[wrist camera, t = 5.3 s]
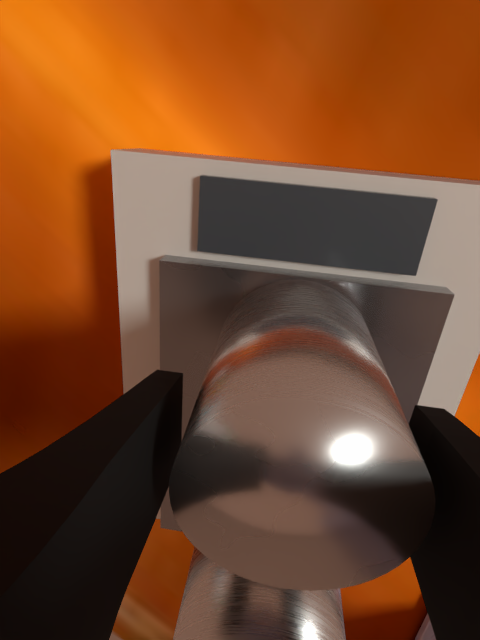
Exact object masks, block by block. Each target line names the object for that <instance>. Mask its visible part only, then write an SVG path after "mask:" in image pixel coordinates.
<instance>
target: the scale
mask: <svg viewBox="0 0 480 640" xmlns="http://www.w3.org/2000/svg"><path fill="white" fill-rule="evenodd" d="M111 165H112V184H113V203H114V222H115V241H116V260H117V279H118V298H119V317H120V336H121V355H122V373H123V392H124V394H125V393H126V392H127V391H129V390H130V389H131V388H133V387H134V386H135V385H137V384H138V383H139V382H141V381H142V380H143V379H145V378H146V377H147V376H149V375H150V374H152V373H153V372H154V371H156V370H160V291H159V260H160V259H161V258H163V257H164V256H165V255H172V256H180V257H189V258H198V259H206V260H215V261H224V262H233V263H241V264H250V265H259V266H267V267H276V268H285V269H293V270H302V271H311V272H320V273H328V274H337V275H346V276H354V277H363V278H372V279H380V280H389V281H398V282H407V283H415V284H424V285H433V286H441V287H447V288H448V289H449V290H450V291H451V292H452V293H453V294H455V295H454V298H453V301H452V304H451V307H450V310H449V313H448V316H447V319H446V322H445V325H444V328H443V331H442V334H441V337H440V340H439V342H438V345H437V348H436V351H435V354H434V357H433V360H432V363H431V366H430V369H429V372H428V375H427V378H426V381H425V384H424V387H423V390H422V393H421V396H420V399H419V402H418V404H417V405H420V406H427V407H435V408H442V409H445V410H447V411H448V412H449V413H451V414H452V415H453V416H455V413H456V411H457V408H458V405H459V403H460V400H461V398H462V395H463V393H464V390H465V388H466V385H467V383H468V380H469V378H470V375H471V373H472V370H473V367H474V365H475V362H476V360H477V357H478V355H479V352H480V181H476V180H465V179H455V178H444V177H434V176H423V175H413V174H402V173H392V172H381V171H371V170H360V169H350V168H339V167H329V166H318V165H308V164H297V163H287V162H276V161H266V160H255V159H245V158H234V157H224V156H213V155H203V154H192V153H182V152H172V151H161V150H151V149H140V148H139V149H115V150H111ZM156 518H157V519H161V507H160V509H159V512H158V514H157V517H156Z"/></svg>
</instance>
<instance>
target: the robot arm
mask: <svg viewBox="0 0 480 640" xmlns="http://www.w3.org/2000/svg"><path fill="white" fill-rule="evenodd" d="M182 399H183V373H179V372H171V371H164V370H156V371H154V372H153V373H152V374H150V375H149V376H147V377H146V378H145V379H143V380H142V381H141V382H139V383H138V384H137V385H135V386H134V387H133V388H131V389H130V390H129V391H127V392H126V393H125V394H123V395H122V396H121V397H119V398H118V399H117V400H115V401H114V402H113V403H111V404H110V405H108V406H107V407H106V408H104V409H103V410H101V411H100V412H99V413H97V414H96V415H94V416H93V417H92V418H90V419H89V420H87V421H86V422H84V423H83V424H81V425H80V426H78V427H77V428H75V429H74V430H72V431H71V432H69V433H68V434H66V435H65V436H63V437H61V438H60V439H58V440H57V441H55V442H54V443H52V444H51V445H49V446H48V447H46V448H44V449H43V450H41V451H39V452H38V453H36V454H34V455H33V456H31V457H29V458H28V459H26V460H24V461H22V462H21V463H19V464H17V465H15V466H13V467H12V468H10V469H8V470H6V471H4V472H2V473H1V474H0V640H109V638H110V635H111V632H112V629H113V626H114V623H115V620H116V616H117V613H118V610H119V608H120V605H121V602H122V600H123V597H124V594H125V592H126V589H127V586H128V584H129V582H130V579H131V577H132V574H133V572H134V569H135V567H136V565H137V562H138V560H139V557H140V555H141V553H142V550H143V548H144V545H145V543H146V541H147V538H148V536H149V533H150V531H151V529H152V526H153V524H154V521H155V519H156V517H157V514H158V512H159V509H160V507H161V504H162V502H163V500H164V497H165V495H166V492H167V490H168V487H169V479H170V475H171V471H172V467H173V464H174V461H175V459H176V456H177V453H178V450H179V447H180V445H181V440H182ZM409 427H410V429H411V431H412V434H413V436H414V439H415V441H416V443H417V446H418V448H419V450H420V453H421V455H422V458H423V460H424V462H425V465H426V467H427V469H428V472H429V474H430V477H431V480H432V483H433V486H434V493H435V513H434V517H433V521H432V524H431V527H430V529H429V531H428V533H427V536H426V538H425V539H424V540H423V542H422V543H421V545H420V546H419V547H418V549H417V550H416V551H415V552H414V553H413V554H412V555H411V556H410V557H411V560H412V564H413V567H414V570H415V573H416V577H417V580H418V583H419V586H420V589H421V593H422V596H423V599H424V602H425V606H426V609H427V612H428V613H427V615H426V617H425V619H424V622H423V624H422V626H421V628H420V630H419V632H418V634H417V636H416V638H415V640H480V437H479V436H477V435H476V434H475V433H474V432H473V431H471V430H470V429H469V428H468V427H467V426H466V425H464V424H463V423H462V422H461V421H459V420H458V419H457V418H456V417H454V416H453V415H452V414H451V413H449V412H448V411H447V410H445V409H442V408H435V407H427V406H420V405H415V407H414V410H413V413H412V416H411V419H410V422H409Z"/></svg>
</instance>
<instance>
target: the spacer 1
mask: <svg viewBox="0 0 480 640" xmlns="http://www.w3.org/2000/svg"><path fill="white" fill-rule="evenodd" d="M169 497H170V504H171V507H172V511H173V514H174V517H175V519H176V521H177V523H178V525H179V527H180V528H181V530H182V531H183V533H184V534H185V536H186V537H187V538H188V539H189V541H190V542H191V543H192V544H193V545H194V546H195V547H196V548H197V549H198V550H199V551H200V552H201V553H202V554H204V555H205V556H206V557H207V558H209V559H210V560H211V561H213V562H214V563H216V564H217V565H219V566H221V567H222V568H224V569H226V570H228V571H230V572H232V573H234V574H236V575H238V576H240V577H243V578H245V579H248V580H251V581H254V582H257V583H261V584H264V585H268V586H272V587H278V588H283V589H292V590H309V591H317V590H331V589H338V588H345V587H349V586H353V585H358V584H361V583H364V582H367V581H370V580H373V579H375V578H377V577H379V576H382V575H384V574H386V573H388V572H389V571H391V570H393V569H394V568H396V567H397V566H399V565H400V564H401V563H403V562H404V561H405V560H407V559H408V558H409V557H410V556H411V555H412V554H413V553H414V552H415V551H416V550H417V549H418V547H419V546H420V545H421V543H422V542H423V540H424V539H425V538H426V536H427V533H428V531H429V529H430V527H431V524H432V521H433V517H434V513H435V493H434V486H433V483H432V480H431V477H430V474H429V472H428V469H427V467H426V465H425V462H424V460H423V458H422V455H421V453H420V450H419V448H418V446H417V443H416V441H415V439H414V436H413V434H412V431H411V429H410V427H409V424H408V422H407V420H406V417H405V415H404V413H403V410H402V408H401V405H400V403H399V401H398V398H397V396H396V394H395V391H394V389H393V387H392V384H391V382H390V379H389V377H388V375H387V372H386V370H385V368H384V365H383V363H382V361H381V358H380V356H379V353H378V351H377V349H376V346H375V344H374V342H373V339H372V337H371V335H370V332H369V330H368V327H367V325H366V323H365V321H364V319H363V317H362V315H361V313H360V312H359V311H358V309H357V308H356V307H355V305H354V304H353V303H352V302H351V301H350V300H349V299H347V298H346V297H345V296H344V295H342V294H341V293H339V292H338V291H336V290H334V289H332V288H330V287H328V286H326V285H323V284H320V283H316V282H313V281H306V280H282V281H277V282H273V283H269V284H266V285H264V286H261V287H259V288H257V289H255V290H253V291H251V292H250V293H248V294H247V295H246V296H244V297H243V298H242V299H241V300H240V301H239V302H238V303H237V304H236V305H235V306H234V307H233V308H232V310H231V311H230V313H229V314H228V316H227V318H226V320H225V322H224V324H223V327H222V330H221V332H220V335H219V338H218V341H217V344H216V346H215V349H214V352H213V355H212V358H211V360H210V363H209V366H208V369H207V372H206V374H205V377H204V380H203V383H202V386H201V389H200V391H199V394H198V397H197V400H196V403H195V405H194V408H193V411H192V414H191V417H190V419H189V422H188V425H187V428H186V431H185V433H184V436H183V439H182V442H181V445H180V447H179V450H178V453H177V456H176V459H175V461H174V464H173V467H172V471H171V475H170V479H169Z"/></svg>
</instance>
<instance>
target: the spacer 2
mask: <svg viewBox="0 0 480 640" xmlns="http://www.w3.org/2000/svg"><path fill="white" fill-rule="evenodd" d="M173 640H346V636H345V627H344V619H343V610H342V602H341V593H340V588H338V589H331V590H317V591H309V590H292V589H283V588H278V587H272V586H268V585H264V584H261V583H257V582H254V581H251V580H248V579H245V578H243V577H240V576H238V575H236V574H234V573H232V572H230V571H228V570H226V569H224V568H222V567H221V566H219V565H217V564H216V563H214V562H213V561H211V560H210V559H209V558H207V557H206V556H205V555H204V554H202V553H201V552H200V551H199V550H198V549H197V548H196V547H194V551H193V556H192V560H191V564H190V569H189V573H188V577H187V582H186V586H185V590H184V595H183V599H182V603H181V608H180V612H179V616H178V620H177V625H176V629H175V633H174V638H173Z"/></svg>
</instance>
